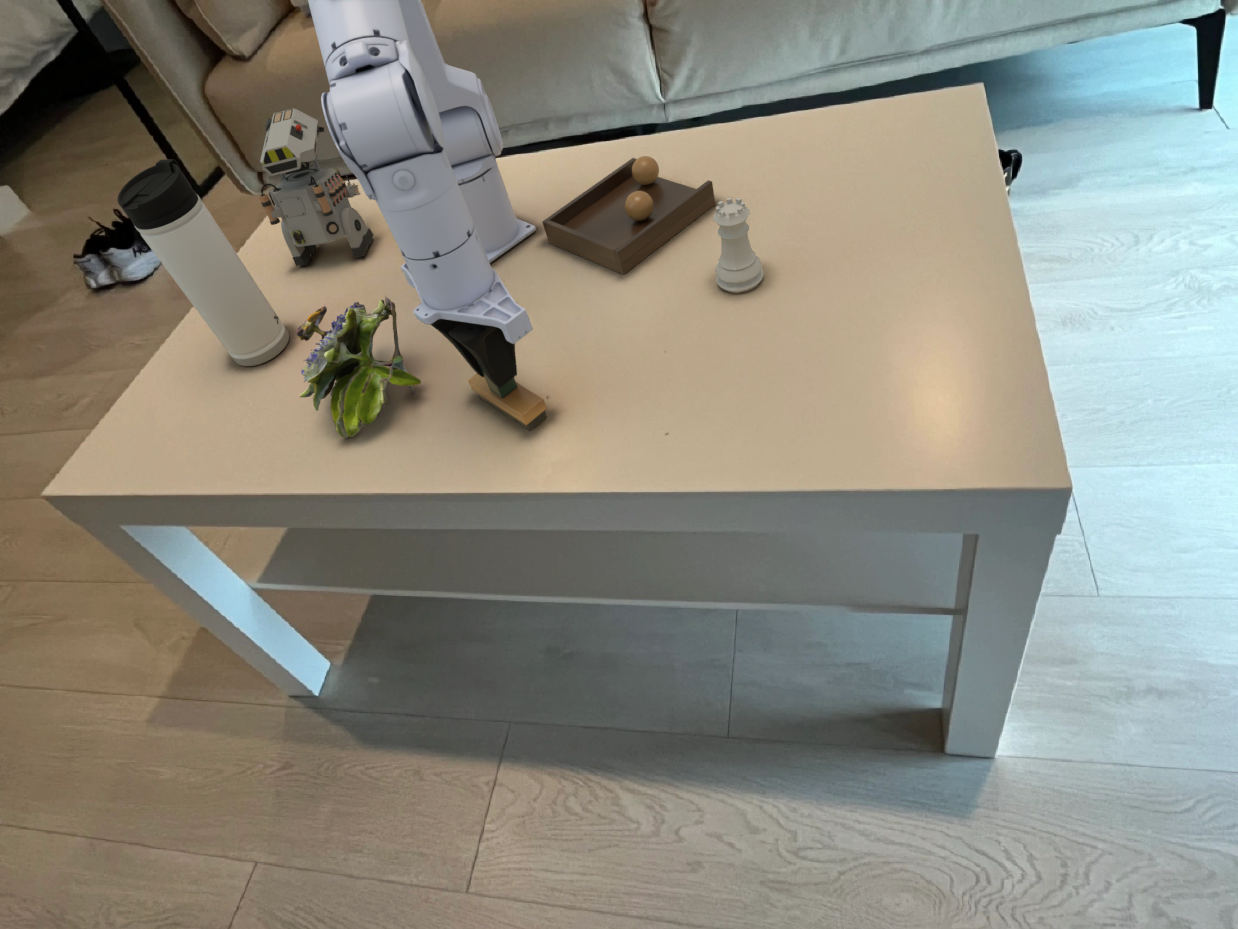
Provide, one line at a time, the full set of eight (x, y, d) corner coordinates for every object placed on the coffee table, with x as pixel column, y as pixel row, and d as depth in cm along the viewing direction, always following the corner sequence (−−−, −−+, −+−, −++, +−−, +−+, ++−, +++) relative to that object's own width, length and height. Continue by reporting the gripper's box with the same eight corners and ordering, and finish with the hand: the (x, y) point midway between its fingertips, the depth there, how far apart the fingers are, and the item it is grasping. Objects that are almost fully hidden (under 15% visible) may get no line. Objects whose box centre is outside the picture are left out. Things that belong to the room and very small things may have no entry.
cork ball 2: (622, 222, 86) (615, 196, 84) (641, 207, 87) (636, 182, 85) (642, 229, 84) (636, 203, 82) (661, 214, 85) (656, 188, 83)
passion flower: (374, 425, 83) (343, 307, 81) (461, 410, 79) (431, 285, 76) (291, 450, 73) (254, 317, 71) (385, 435, 69) (348, 292, 66)
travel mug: (303, 328, 88) (193, 156, 74) (268, 369, 85) (145, 196, 70) (259, 325, 91) (145, 158, 76) (223, 365, 87) (95, 198, 72)
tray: (548, 242, 89) (541, 221, 87) (637, 179, 94) (632, 157, 92) (623, 274, 82) (617, 252, 80) (715, 204, 87) (712, 180, 85)
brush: (475, 397, 74) (442, 327, 68) (495, 382, 75) (464, 311, 69) (529, 433, 69) (498, 361, 63) (550, 416, 70) (521, 344, 64)
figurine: (388, 212, 102) (332, 94, 91) (360, 266, 94) (295, 145, 84) (324, 222, 104) (261, 108, 93) (291, 276, 97) (219, 158, 86)
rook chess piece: (762, 293, 75) (753, 217, 69) (713, 296, 76) (701, 221, 70) (766, 264, 78) (758, 188, 72) (719, 267, 79) (708, 193, 73)
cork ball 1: (629, 186, 91) (623, 161, 89) (647, 173, 92) (642, 148, 90) (648, 192, 89) (642, 167, 87) (666, 179, 90) (661, 153, 88)
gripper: (344, 239, 62) (415, 370, 72) (449, 297, 54) (513, 437, 64) (417, 192, 65) (476, 326, 75) (529, 241, 56) (578, 384, 66)
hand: (497, 374), depth 69 cm, fingers closed on brush, 2 cm apart
